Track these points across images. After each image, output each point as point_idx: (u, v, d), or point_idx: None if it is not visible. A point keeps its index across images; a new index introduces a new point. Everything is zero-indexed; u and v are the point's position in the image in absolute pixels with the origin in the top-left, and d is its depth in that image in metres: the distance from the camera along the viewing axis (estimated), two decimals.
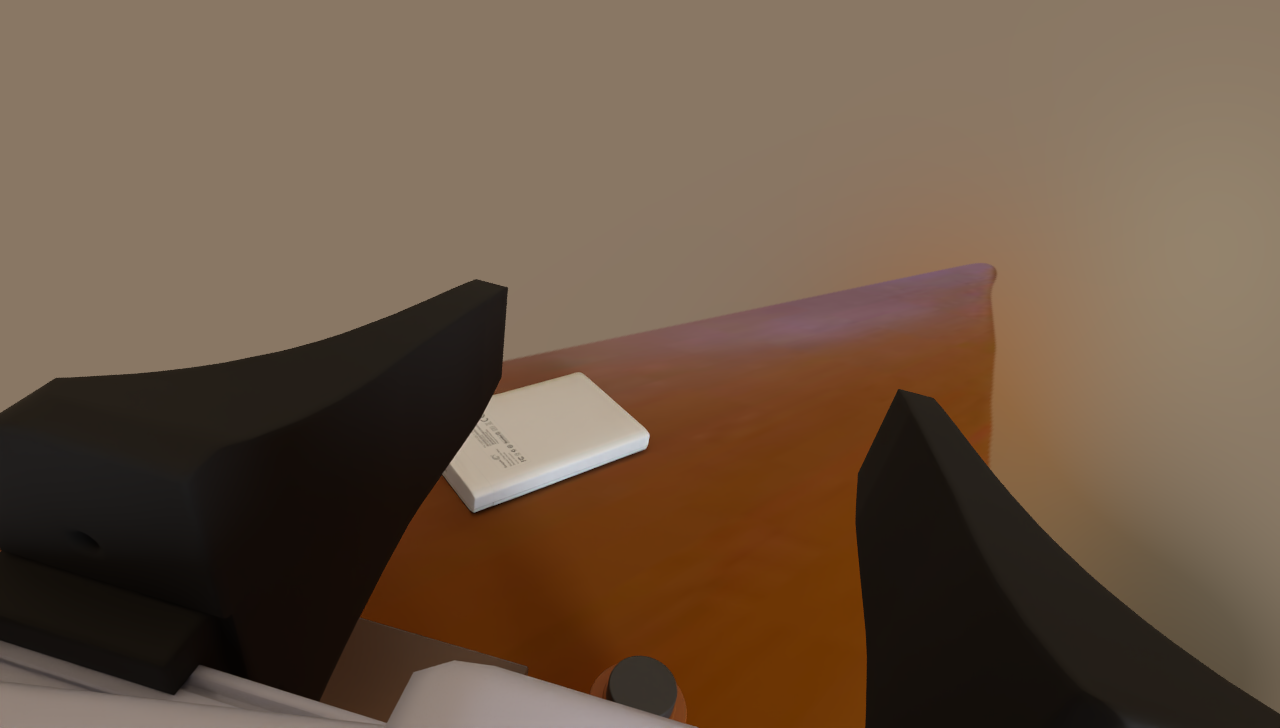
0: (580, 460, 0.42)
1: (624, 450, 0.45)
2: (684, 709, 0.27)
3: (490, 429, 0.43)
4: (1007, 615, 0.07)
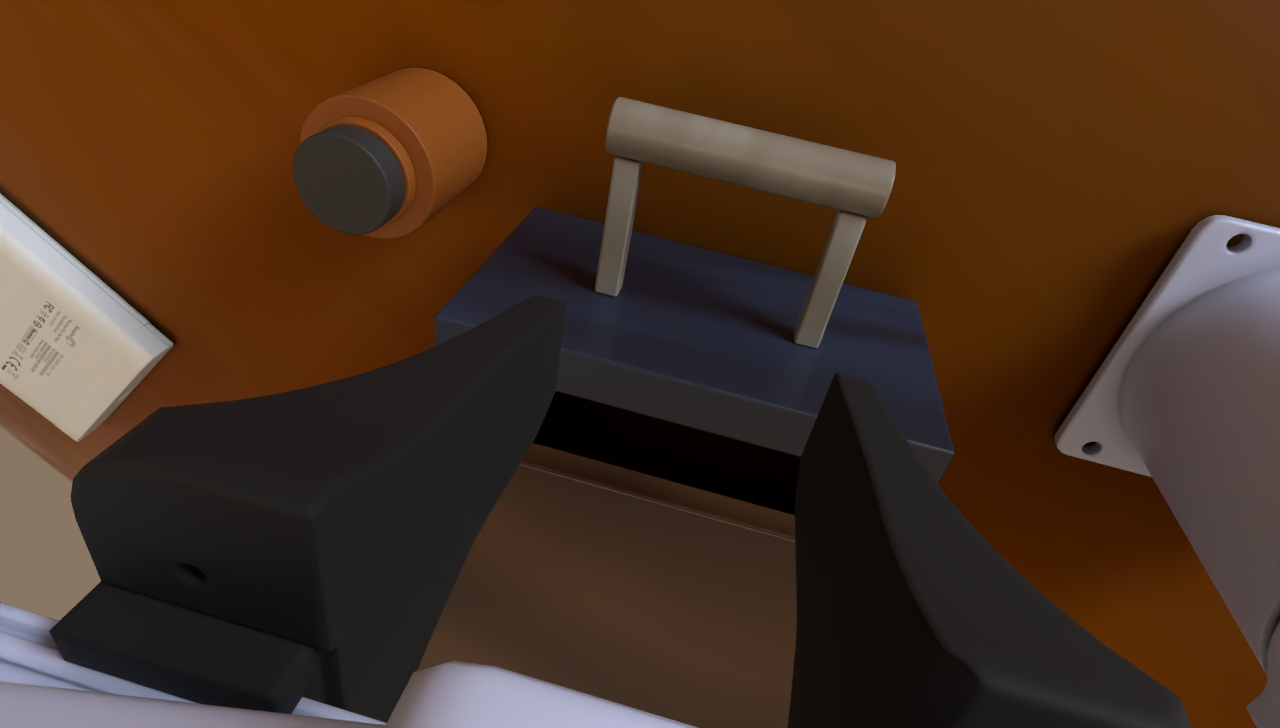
0: None
1: None
2: (349, 99, 0.18)
3: (25, 352, 0.28)
4: (898, 583, 0.07)
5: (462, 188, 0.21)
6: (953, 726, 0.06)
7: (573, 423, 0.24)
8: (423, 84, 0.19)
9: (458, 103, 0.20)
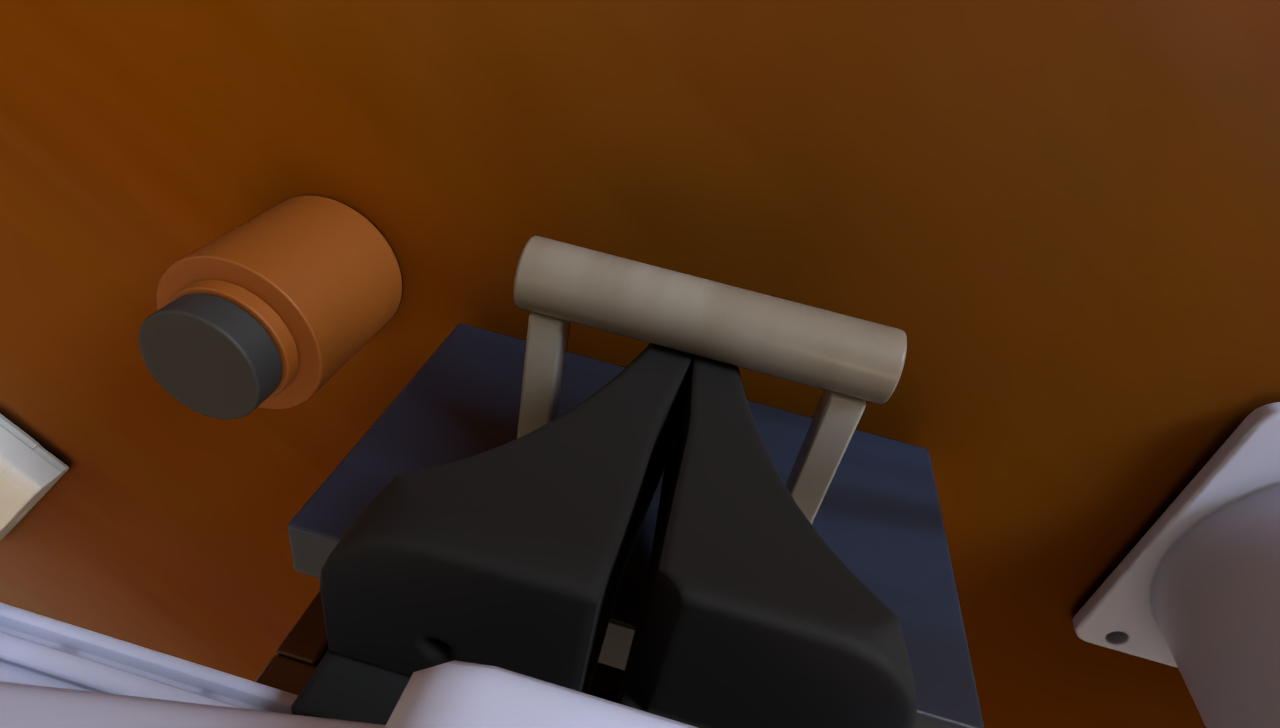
0: None
1: None
2: (208, 260, 0.14)
3: None
4: (668, 519, 0.07)
5: (369, 337, 0.17)
6: (669, 643, 0.06)
7: None
8: (314, 225, 0.16)
9: (360, 243, 0.17)
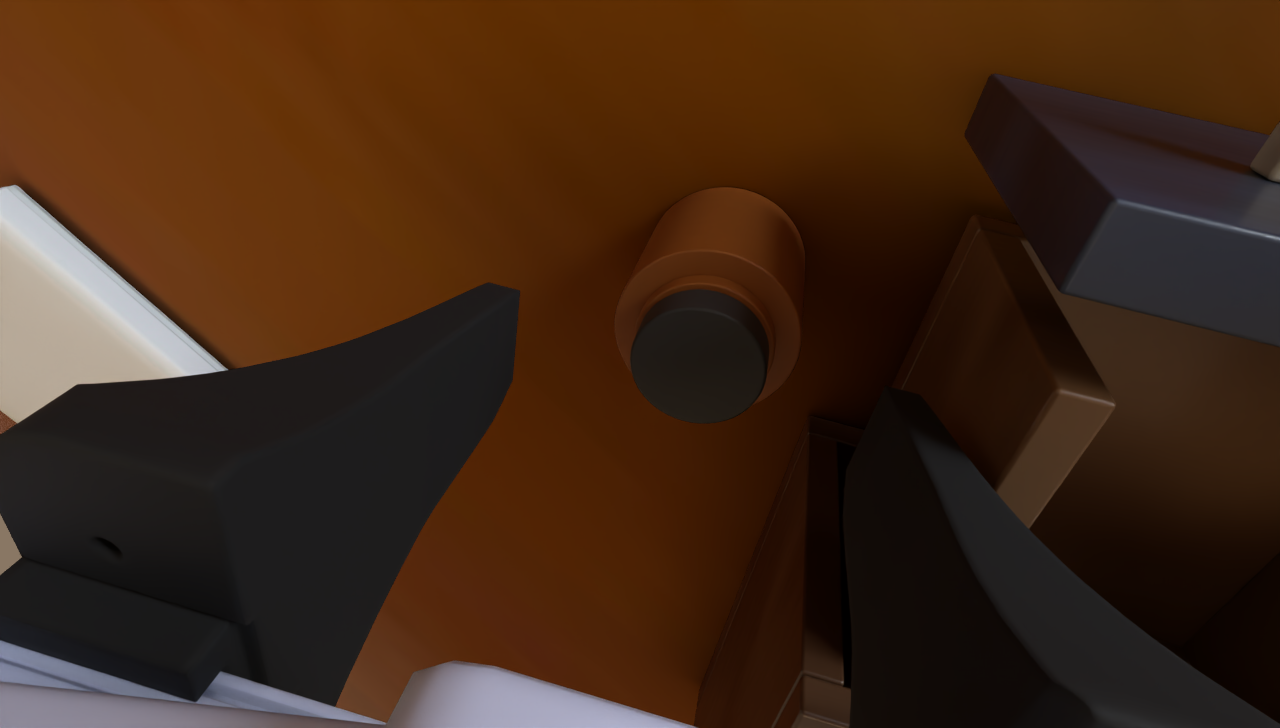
0: (147, 339, 0.21)
1: (58, 244, 0.20)
2: (707, 254, 0.13)
3: None
4: (983, 607, 0.07)
5: None
6: None
7: None
8: (761, 217, 0.15)
9: (793, 237, 0.16)
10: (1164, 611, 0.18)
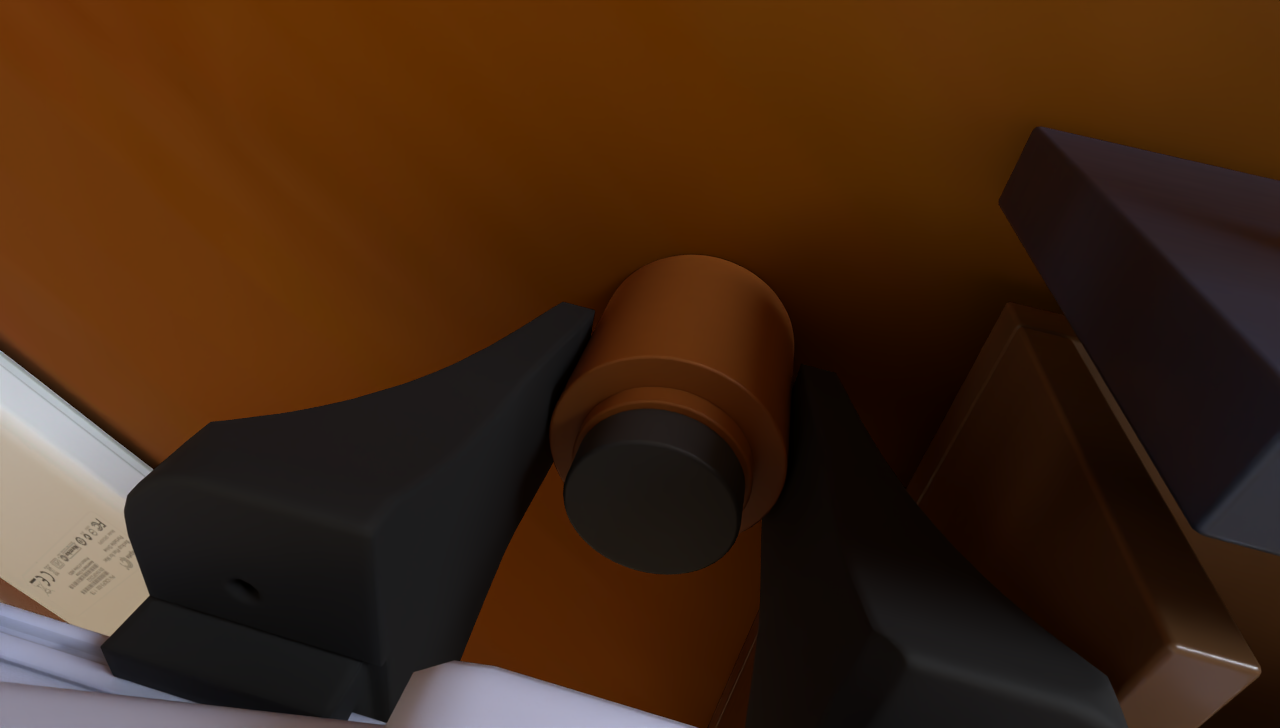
0: (19, 418, 0.18)
1: None
2: (662, 363, 0.10)
3: (63, 568, 0.21)
4: (840, 567, 0.07)
5: None
6: (882, 705, 0.06)
7: None
8: (737, 300, 0.12)
9: (777, 320, 0.12)
10: None
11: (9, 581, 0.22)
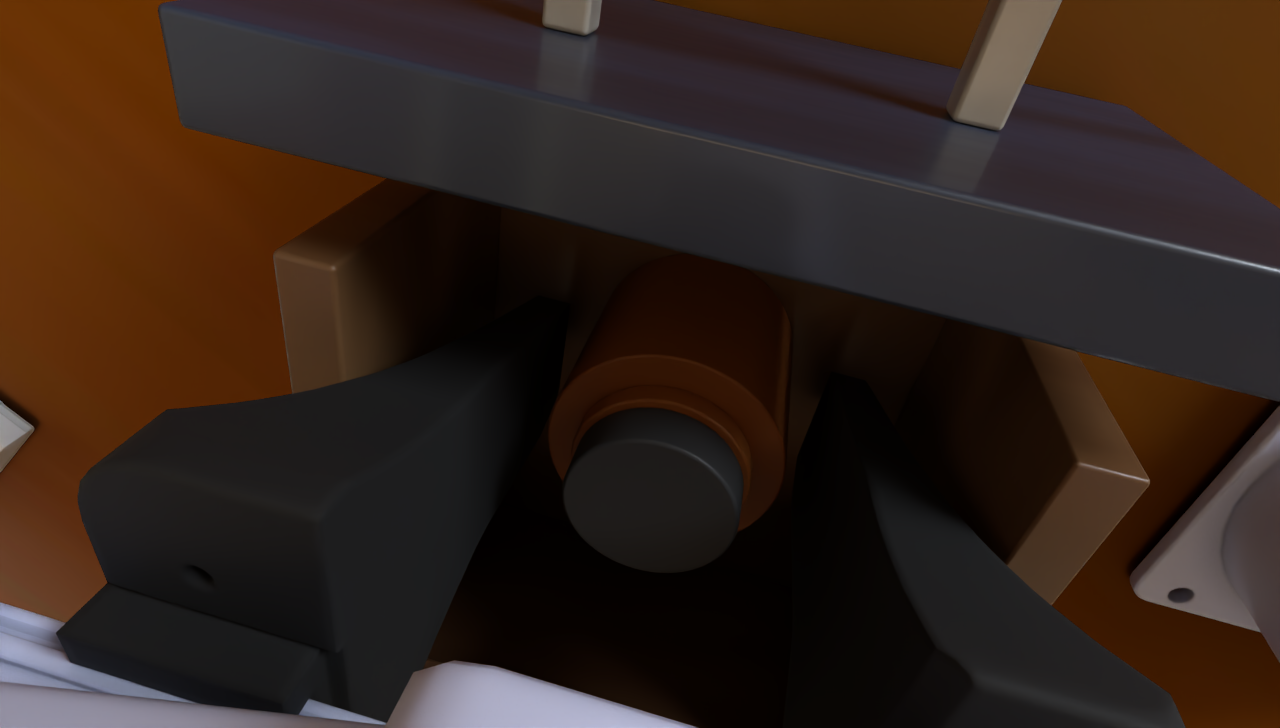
0: None
1: None
2: (660, 362, 0.10)
3: None
4: (892, 582, 0.07)
5: None
6: (945, 724, 0.06)
7: None
8: (735, 299, 0.12)
9: (776, 319, 0.13)
10: (783, 553, 0.17)
11: None
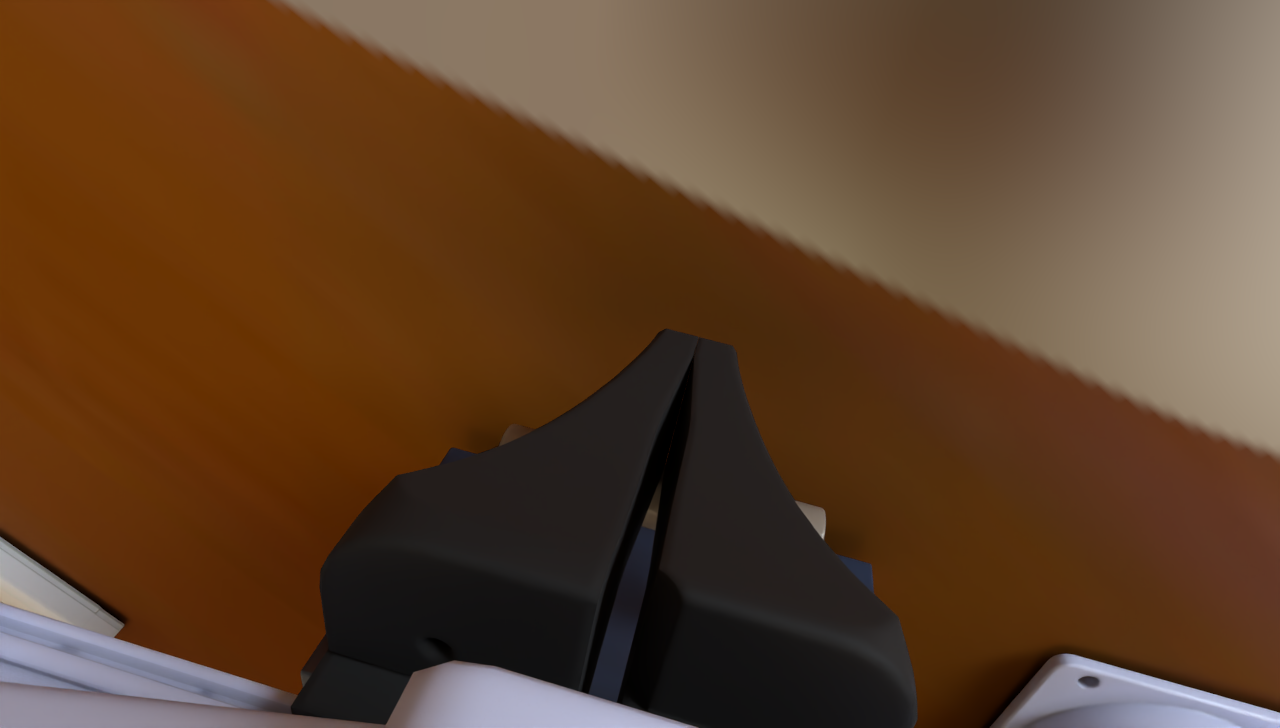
0: None
1: None
2: None
3: None
4: (668, 519, 0.07)
5: None
6: (670, 643, 0.06)
7: None
8: None
9: None
10: None
11: None
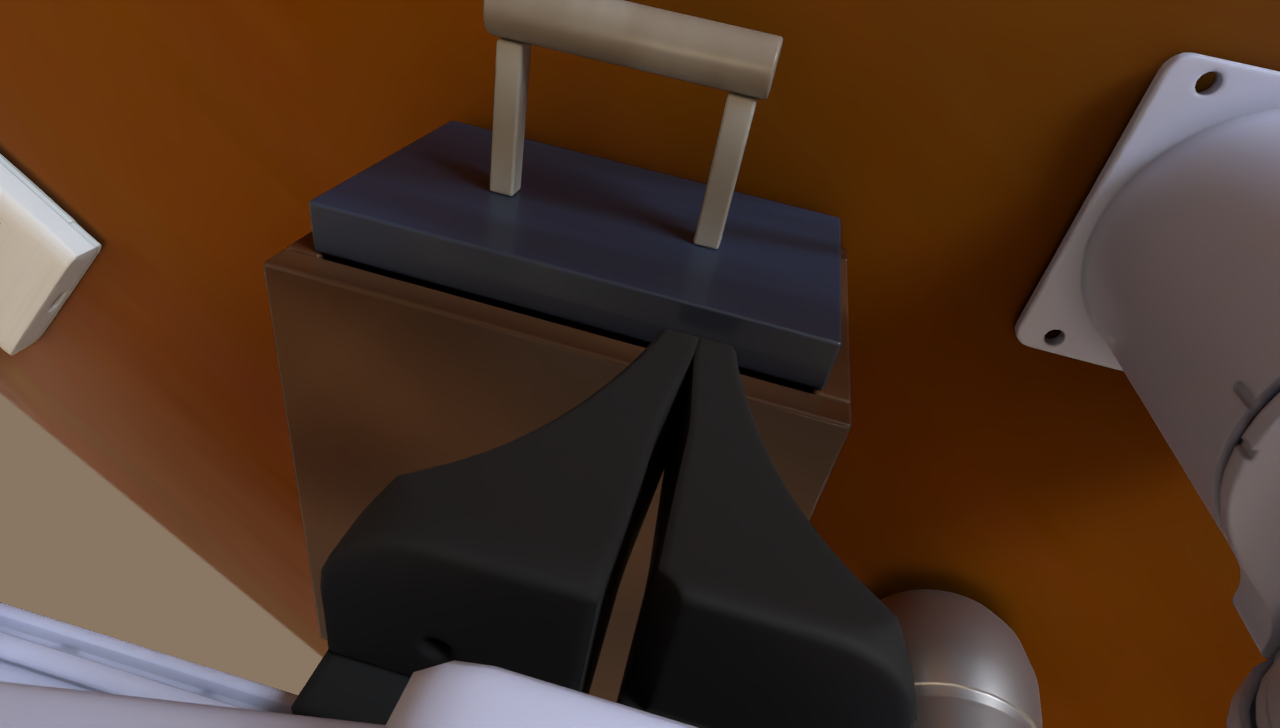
0: None
1: None
2: None
3: None
4: (667, 518, 0.07)
5: None
6: (669, 642, 0.06)
7: None
8: None
9: None
10: None
11: None
